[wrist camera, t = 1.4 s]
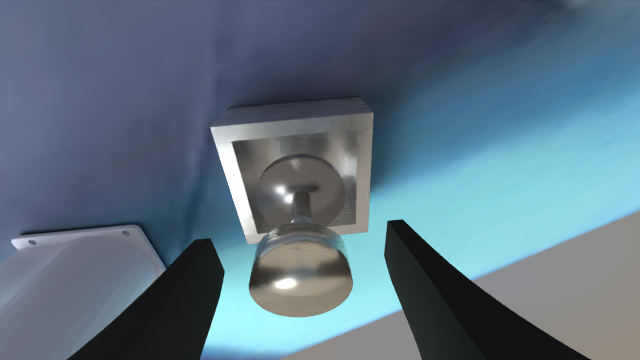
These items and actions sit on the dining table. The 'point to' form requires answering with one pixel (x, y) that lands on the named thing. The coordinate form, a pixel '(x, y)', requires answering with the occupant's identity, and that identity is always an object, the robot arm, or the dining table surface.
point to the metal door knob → (300, 239)
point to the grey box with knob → (297, 138)
